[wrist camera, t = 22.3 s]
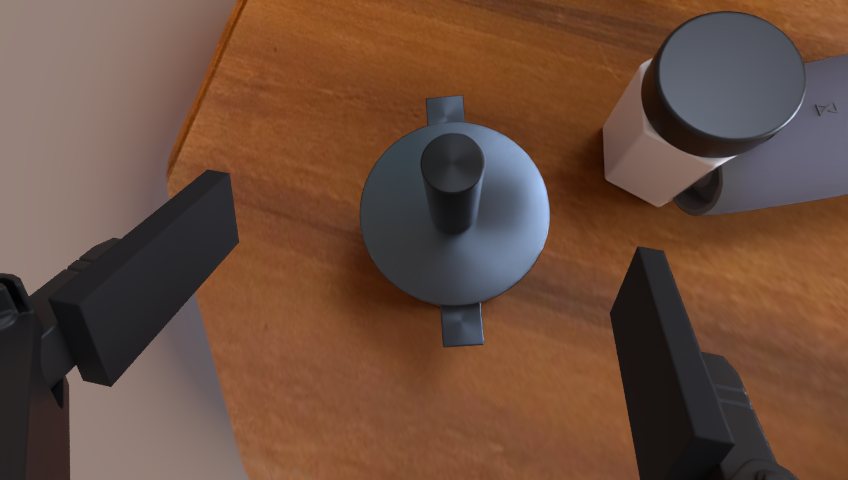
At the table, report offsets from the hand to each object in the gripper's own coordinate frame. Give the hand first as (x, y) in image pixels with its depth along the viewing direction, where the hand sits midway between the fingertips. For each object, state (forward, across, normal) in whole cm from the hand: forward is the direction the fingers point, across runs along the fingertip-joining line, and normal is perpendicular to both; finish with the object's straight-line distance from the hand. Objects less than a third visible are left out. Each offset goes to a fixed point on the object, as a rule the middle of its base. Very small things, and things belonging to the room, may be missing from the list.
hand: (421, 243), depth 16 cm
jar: (+26, +14, -6) cm, 31 cm away
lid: (+13, 0, -6) cm, 14 cm away
